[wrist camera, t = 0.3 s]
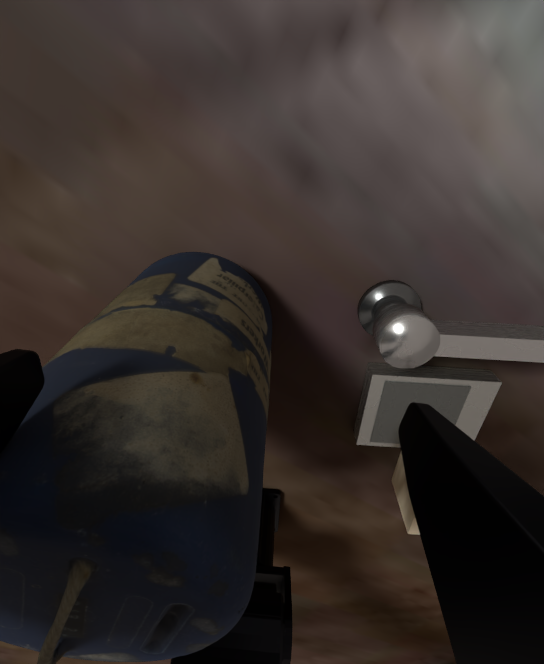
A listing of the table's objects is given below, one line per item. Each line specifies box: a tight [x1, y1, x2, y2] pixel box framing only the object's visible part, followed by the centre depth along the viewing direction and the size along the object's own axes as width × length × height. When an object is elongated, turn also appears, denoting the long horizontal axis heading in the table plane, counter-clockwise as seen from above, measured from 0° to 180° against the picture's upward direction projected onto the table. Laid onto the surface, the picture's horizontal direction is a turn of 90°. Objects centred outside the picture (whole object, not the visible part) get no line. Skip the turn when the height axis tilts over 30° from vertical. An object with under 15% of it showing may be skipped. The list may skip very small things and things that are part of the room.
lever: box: [372, 304, 544, 369], centre depth 19 cm, size 3×14×2 cm, turn 88°
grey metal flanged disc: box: [358, 280, 421, 335], centre depth 21 cm, size 4×4×2 cm
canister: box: [0, 252, 272, 664], centre depth 15 cm, size 10×10×18 cm
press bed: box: [353, 363, 502, 448], centre depth 25 cm, size 7×9×2 cm
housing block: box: [392, 452, 420, 535], centre depth 27 cm, size 5×5×6 cm
